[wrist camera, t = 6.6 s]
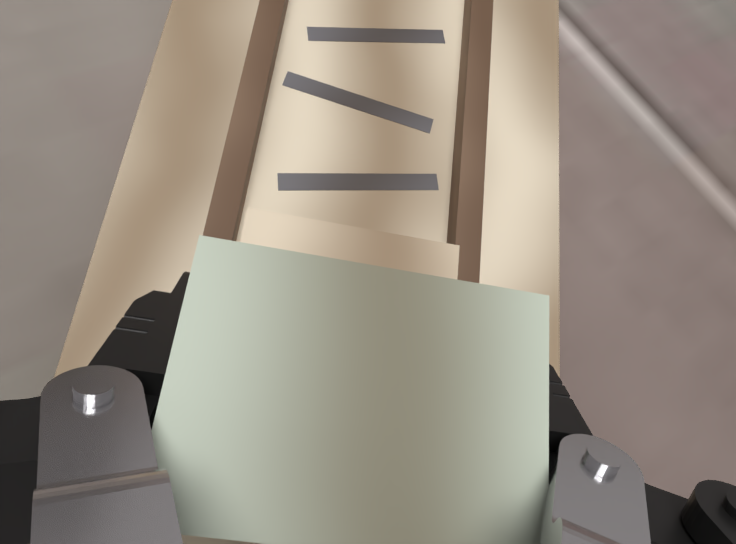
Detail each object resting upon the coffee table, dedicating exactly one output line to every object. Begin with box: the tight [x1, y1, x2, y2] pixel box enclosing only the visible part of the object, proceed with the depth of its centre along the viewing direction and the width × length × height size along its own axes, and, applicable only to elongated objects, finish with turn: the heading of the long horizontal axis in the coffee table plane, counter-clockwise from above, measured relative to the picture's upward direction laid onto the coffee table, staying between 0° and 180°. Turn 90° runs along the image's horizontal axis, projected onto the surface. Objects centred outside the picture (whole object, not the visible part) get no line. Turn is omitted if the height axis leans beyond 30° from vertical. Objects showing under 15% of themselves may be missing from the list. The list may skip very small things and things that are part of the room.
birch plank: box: [54, 0, 560, 378], centre depth 18 cm, size 14×25×2 cm, turn 173°
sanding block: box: [151, 207, 549, 544], centre depth 12 cm, size 6×10×8 cm, turn 173°
